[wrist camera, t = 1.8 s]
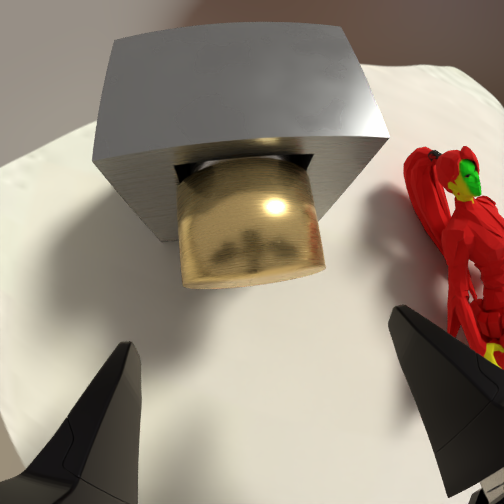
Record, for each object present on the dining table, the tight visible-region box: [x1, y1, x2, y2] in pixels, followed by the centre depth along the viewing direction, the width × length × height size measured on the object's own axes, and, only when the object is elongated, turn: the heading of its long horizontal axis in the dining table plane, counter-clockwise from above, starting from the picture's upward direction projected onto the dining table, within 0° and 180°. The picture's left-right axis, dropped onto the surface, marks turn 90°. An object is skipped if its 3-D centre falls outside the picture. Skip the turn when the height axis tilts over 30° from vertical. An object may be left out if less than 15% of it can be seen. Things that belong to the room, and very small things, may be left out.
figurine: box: [404, 146, 504, 370], centre depth 19 cm, size 12×9×30 cm
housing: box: [92, 22, 390, 242], centre depth 17 cm, size 7×11×12 cm, turn 97°
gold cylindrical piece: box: [176, 155, 326, 289], centre depth 14 cm, size 8×6×6 cm
